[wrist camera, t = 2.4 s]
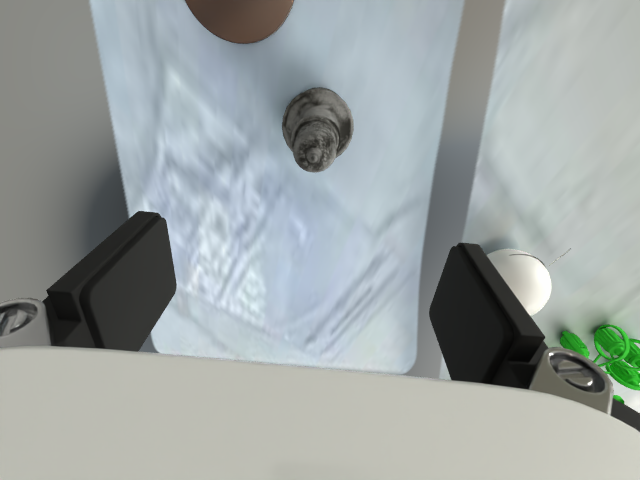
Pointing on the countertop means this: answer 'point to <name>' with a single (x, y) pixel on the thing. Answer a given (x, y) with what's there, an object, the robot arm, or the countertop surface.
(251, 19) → the coaster
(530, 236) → the countertop surface
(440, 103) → the countertop surface
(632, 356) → the chandelier
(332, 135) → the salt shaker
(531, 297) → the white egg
